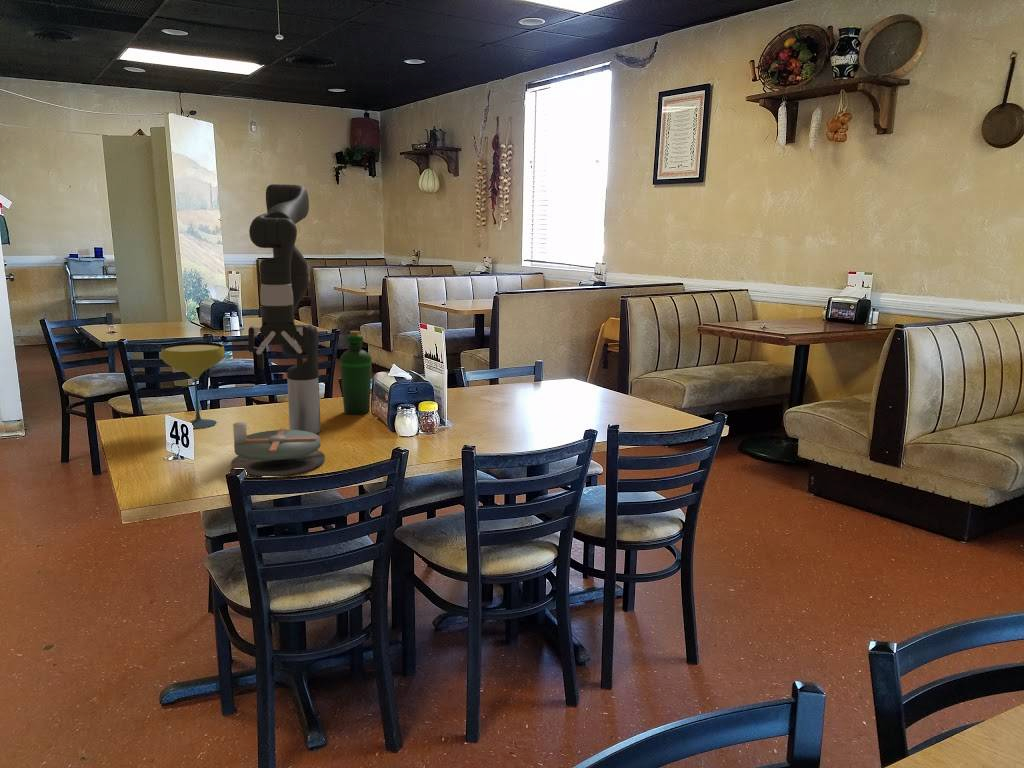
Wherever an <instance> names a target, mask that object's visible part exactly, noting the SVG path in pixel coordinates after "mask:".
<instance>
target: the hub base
mask: <svg viewBox="0 0 1024 768" xmlns="http://www.w3.org/2000/svg"><path fill="white" fill-rule="evenodd" d="M325 460H326V457H325V454H324V453H323V452H322V451H321V450H319V449H318V450H316V451H315V452H313V453H310V454H308V455H305V456H301V457H296V458H291V459H283V460H253V459H247V458H243V457H240V456H238V455H237V456H235V457H234V458H233V459H232V460H231V463H230V465H231V469H232V468H233V469H234V468H244V469H245V470H246V472H247V476H246V477H250V478H259V477H262V476H287V477H291V476H292V477H293V476H298V475H302V473H303V474H306V473H309V472H312V471H315V470H317V469H319V468H320V467H322V465H324V463H325V462H326V461H325ZM248 475H249V476H248Z"/></svg>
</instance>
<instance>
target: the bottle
mask: <svg viewBox="0 0 1024 768" xmlns="http://www.w3.org/2000/svg"><path fill="white" fill-rule="evenodd" d="M360 333H361V331H360V330H350V331H349V334H348V335H347V339H346V343H347V344H348V349H347V350H345V351H344V352H343V353H342V354H341V356H340V358H339V367H340V376H341V377H340V379H341V380H340V381H341V389H342V400H343V411H344V413H346V414H347V415H352V416H354V415H356V416H358V415H359V416H360V415H364V414H368V413H369V412H370V411H371V388H372V387H371V384H372V383H371V382H372V356H371V355H370V354H369V352H367V351H366V350H364V349H362V347H363V345H362V344H363V343H364V339H363V337H364V336H363V335H362V334H360Z"/></svg>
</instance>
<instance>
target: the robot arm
mask: <svg viewBox="0 0 1024 768" xmlns="http://www.w3.org/2000/svg"><path fill="white" fill-rule="evenodd" d="M309 199H310V198H309V194H308V190H307V189H306V187H304V186H303V185H299V184H284V183H283V184H282V183H281V184H279V183H278V184H277V183H274V184H269V185H268V186H267V187H266V190H265V205H266V212H265V213H263V214H259V215H258V216H256V217H255V218H254V219H253V220H252V221H251V223H250V226H249V231H248V233H249V238H250V241H251V242H252V243H253V244H254V246H256V247H258V248H261V249H272V254H273V256H272V257H269V258H268V257H267V258H263V259H262V260H260V263H259V275H260V290H259V291H260V295H259V296H260V298H259V302H260V313H261V327H257V326H253V325H251V326H249V328H248V330H247V332H248V336H247V337H248V341H247V346H248V347H247V349H248V352H249V353H254V354H255V355H256V360H257V361H256V362H257V363H256V364H257V367H258V368H260V370H264V369H265V359H264V353H263V352H264V350H265V349H266V348H267V347H268V345H270V344H271V345H273V346H275V345H280V349H281V351H282V353H283V355H286V356H295V357H296V365H292V366H290V367H289V368H287V370H286V375H287V380H286V381H287V398H288V421H289V430H300V431H307V432H311V433H314V434H318V433H320V432H321V407H320V406H321V405H320V403H321V402H320V381H319V380H320V379H319V332H318V329H317V326H316V325H313V324H310V325H309V324H296V323H295V311H296V308H297V307H298V305H299V304H300V302H301V300H302V299H303V297H304V296H305V294H306V292H307V290H308V287H309V286H310V285H309V283H310V281H309V269H308V262H307V260H306V258H305V257H304V255H303V253H302V252H301V250H299V248H298V247H297V246H296V245H295V244H296V241H297V237H298V236H297V235H298V229H297V226H296V224H297V223H299V222H301V221H302V220H304V219H306V217H307V216H308V213H309V210H310V200H309ZM259 333H260V334H261V335H262V336H263V337H264V339H263V341H262V342H261V343H260V345H259V346H258V347H256V346H255V337H257V336H258V334H259ZM303 356H306V359H305V360H304V359H303V358H304V357H303ZM303 360H304V361H303Z"/></svg>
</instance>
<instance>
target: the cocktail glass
mask: <svg viewBox="0 0 1024 768" xmlns="http://www.w3.org/2000/svg"><path fill="white" fill-rule="evenodd" d="M160 355H161V359H162V361H163V362H164V363H165V364H166V365H167V366H170V367H172V368H175V369H177V370H179V371H182V372H183V373H184V372H185V373H186V374H187V375H188V376H189V377H190V378H191V379H192V380H194V392H195V393H194V394H195V409H196V410H195V412H196V413H195V419H192V421H190V420H189V421H190V422H191V423H192V425H193V427H194V429H193V430H197V429H196V428H202V429H206V428H205V427H208V428H210V427H209V426H212V427H214V426H216V425H217V424H216V423H218V421H216V420H215V419H205V418H202V417H201V413H200V409H199V408H200V407H199V397H198V382H197V380H198V379H199V378H200V377H201V376H202V374H203V372H205V371H207V370H209V369H210V368H212V367H214V366H216V365H217V364H219V363H220V362H221V361H222V360H223V359H224V357H225V347H224V345H223V344H221V343H216V342H205V341H202V342H184V343H175V344H169V345H168V344H167V345H165V346H163V347H161V351H160ZM215 424H216V425H215ZM213 425H214V426H213Z"/></svg>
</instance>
